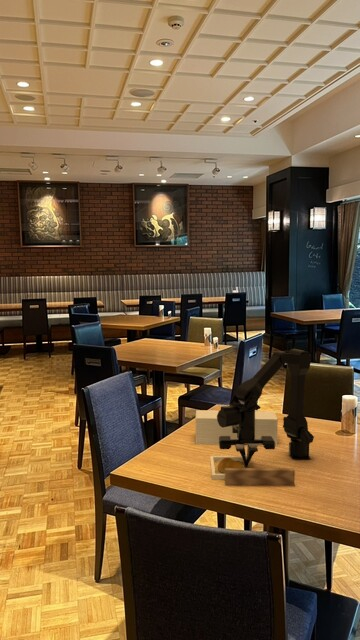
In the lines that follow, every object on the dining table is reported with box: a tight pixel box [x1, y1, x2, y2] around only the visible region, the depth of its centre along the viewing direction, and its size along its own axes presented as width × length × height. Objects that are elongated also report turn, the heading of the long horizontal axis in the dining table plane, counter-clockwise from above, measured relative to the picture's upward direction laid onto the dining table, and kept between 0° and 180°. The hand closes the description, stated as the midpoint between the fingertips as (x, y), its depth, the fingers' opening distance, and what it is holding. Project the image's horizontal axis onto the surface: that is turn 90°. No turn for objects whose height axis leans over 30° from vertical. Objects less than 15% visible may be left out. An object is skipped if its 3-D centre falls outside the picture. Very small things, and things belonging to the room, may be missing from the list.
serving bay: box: [209, 455, 247, 480], centre depth 166 cm, size 13×16×2 cm
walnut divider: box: [224, 467, 296, 487], centre depth 154 cm, size 22×2×5 cm, turn 89°
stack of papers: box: [195, 409, 279, 446], centre depth 194 cm, size 32×11×11 cm, turn 86°
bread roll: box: [217, 458, 245, 474], centre depth 165 cm, size 8×9×4 cm
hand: (246, 466), depth 165 cm, fingers closed
